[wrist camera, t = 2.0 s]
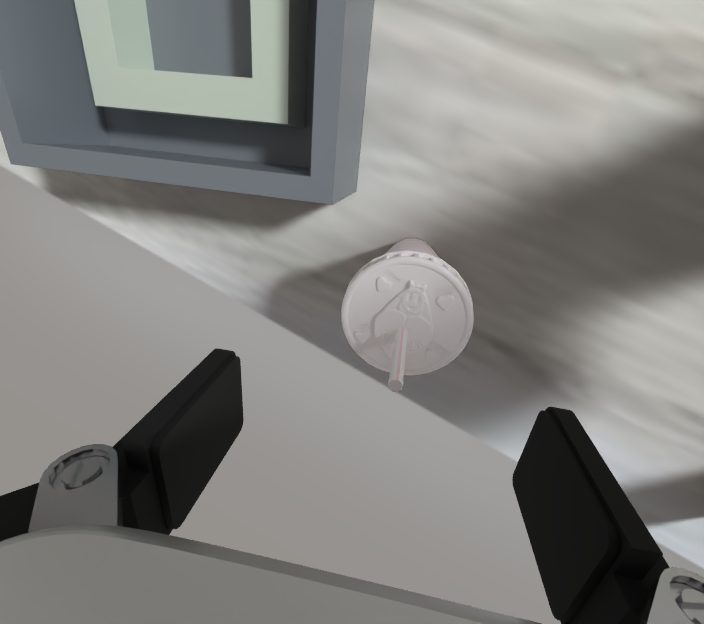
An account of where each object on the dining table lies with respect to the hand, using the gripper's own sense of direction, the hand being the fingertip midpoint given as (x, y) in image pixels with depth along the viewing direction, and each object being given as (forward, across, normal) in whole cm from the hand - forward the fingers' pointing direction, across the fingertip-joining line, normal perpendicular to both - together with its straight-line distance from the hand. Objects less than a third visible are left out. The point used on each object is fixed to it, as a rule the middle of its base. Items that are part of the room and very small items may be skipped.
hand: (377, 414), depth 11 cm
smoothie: (+16, -1, 0) cm, 16 cm away
